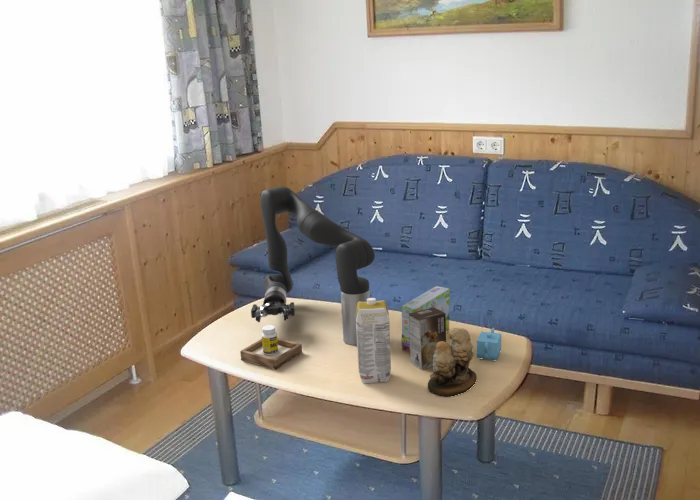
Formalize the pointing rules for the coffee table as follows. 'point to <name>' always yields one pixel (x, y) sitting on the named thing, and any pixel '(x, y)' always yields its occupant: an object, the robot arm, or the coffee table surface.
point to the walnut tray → (284, 355)
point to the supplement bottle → (269, 340)
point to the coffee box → (426, 335)
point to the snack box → (429, 299)
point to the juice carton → (373, 341)
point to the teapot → (489, 345)
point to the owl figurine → (452, 365)
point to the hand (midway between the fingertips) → (271, 318)
